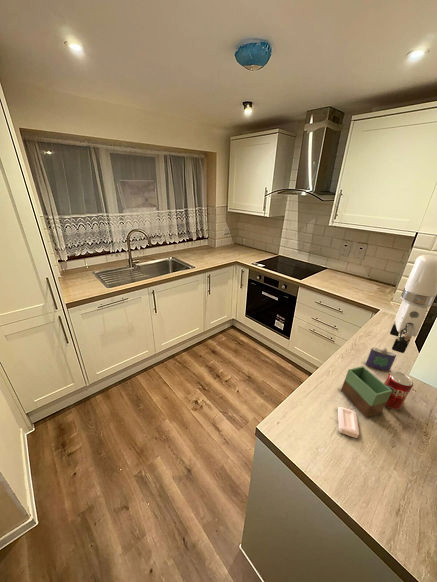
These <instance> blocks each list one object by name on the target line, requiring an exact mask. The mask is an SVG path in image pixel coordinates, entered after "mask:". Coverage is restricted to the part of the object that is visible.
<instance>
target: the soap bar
mask: <svg viewBox="0 0 437 582" xmlns="http://www.w3.org/2000/svg"><path fill="white" fill-rule="evenodd" d="M337 419H338V420H337V421H338V431H339V433H340V434H344V435H346V436H349V437H351V438H352V437H353V438H355V439H358V438H359V436H360V430H359V424H358V418H357V412H356V411H355V410H352V409H349V408H346V407H343V406H339V407H338V408H337Z"/></svg>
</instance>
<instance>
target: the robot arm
mask: <svg viewBox="0 0 437 582" xmlns="http://www.w3.org/2000/svg"><path fill="white" fill-rule="evenodd" d="M399 297H400V299H401V303H400V305H399V308H398V310H397V312H396V315H395V318H394V323H393V324H392V327H391V329H390V332H389V335H391V336H394V337H397V338H395V340H394V342H393V344H392V347H391V350H392V351H394V352H398V353H401V354H405V352H406V350H407V348H408V347H409V344H410V342H411V338H412V337H417V336H418V334H419V332H420V329H421V327H422V324H423V322H424V320H425V317H426V314H427V312H428V311H427V310H428V308H430V307H432V305H433V303H434V301H435V299H436V297H437V255H435V254H421V255H418V256H417V258H415V261H414V264H413V266H412V268H411V270H410V273H409V276H408V278H407V280H406V283H405V285H404V287H403V290H402V292H401V295H400V296H399Z"/></svg>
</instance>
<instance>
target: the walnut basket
mask: <svg viewBox="0 0 437 582" xmlns="http://www.w3.org/2000/svg"><path fill="white" fill-rule="evenodd" d="M340 391H341V393H342V394H343V395H344V396H345V397H346V398H347V399H348V400H349V401H350V403H352V404H353V405H354V406H355V407H356V408H357V409H358V411H359V412H360V413H361V414H362V415H363V416H364V417H365V418H366V419H367V418H370V417H373V416H377V415H380V414H382V413H383V411H384V409H385V407H386V406H385V405H386V403H387V402H385V403H382V404H379V405H375V406H372V407H371V406H370V405H369V404H368V403H367V402H366V401H365V400H364V399H363V398H362V397H361V396H360V395H359V394H358V393H357V392H356V391H355V390H354V389H353V388H352V387H351V386H350V385H349V384H348V383H347V382H346V381H345V380H344V381H343V383H342V386H341V390H340Z"/></svg>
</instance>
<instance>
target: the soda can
mask: <svg viewBox="0 0 437 582" xmlns="http://www.w3.org/2000/svg"><path fill="white" fill-rule="evenodd" d="M383 383H384V384H385V385H386V386H387V387H388V388H390V389H391V390H392V393H391V395H390V397H389V399H388V401H387V403H386V405H385V407H387V408H389V409H391V410H400V409H402V407H403V405H404V403H405V401H406V399H407V398H408V396H409V394H410V392H411V391H412V389H413V386H414V383H413V380H412V378H411V377H409V376H408V375H407V374H405V373H403V372H400V371H394V370H393V371H389V372H388V374H387V376H386V378H385V380H384V382H383Z"/></svg>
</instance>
